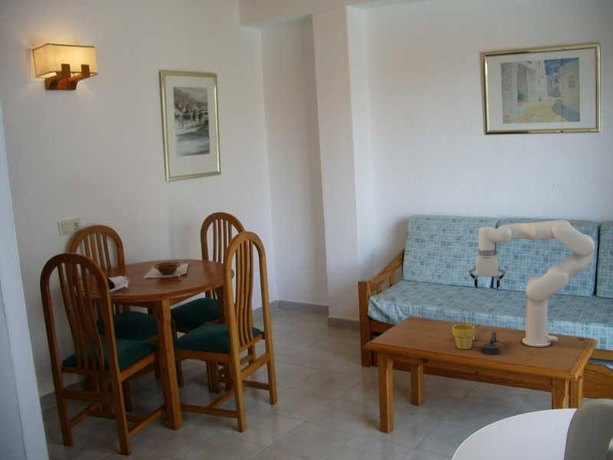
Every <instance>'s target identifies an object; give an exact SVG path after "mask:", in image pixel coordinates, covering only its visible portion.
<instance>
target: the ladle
mask: <svg viewBox="0 0 613 460" xmlns="http://www.w3.org/2000/svg"><path fill="white" fill-rule="evenodd" d="M496 341H497V332H495V331H492V332H491V336H490V339H489V343H483V345H482V353H483V354H486V355H492V356H493V355H494V356H495V355H498V354H499V353H500V346H499V344H497V343H495V342H496Z"/></svg>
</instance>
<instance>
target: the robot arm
mask: <svg viewBox="0 0 613 460" xmlns="http://www.w3.org/2000/svg"><path fill="white" fill-rule="evenodd" d="M511 240H530V241H533V242H538V241H549V240H557V241H558V242H560V243H561V244H563V245H564V246H565V247H566V248H568V249H570V250H571V251H572V252H571V253H570V254H569V255H568V256H566V257H565V258H564V259H562V260H561V261H559V262H557V263H555V264H554V265H551V266H550V267H549V268H548V269H547V271H546V273H545V274H544V275H542V276H534V277H531V278H530V279H528V281H527V282H526V286H525V296H526V297H525V337H523V338H522V343H523V344H524V345H525V346H530V347H536V348H537V347H538V348H543V347H548V346H550V345H551V342H558V336H555V335H550V334H549V332H548V310H549V309H548V307H549V306H548V305H549V304H548V303H549V301H548V300H549V298H550V297H552V296H554V295H556V294H557V293H559V292H560V291H561V290H563V289H564V288H566V286H567V285H568V283H569V280H570V279H571V278H573V277H574V276H576V275H577V274H579V273H580V272H581V271H584V270H585V268H587V267H588V266H589V264H590V263H591V261H592V259H593V257H594V254H595V253H594V252H595V249H596V244H595V241H594V239H593V237H592V236H590V235H589V234H585V233H581V232H580V231H579V230H577V229H576V228H575V227H573V226H572V224H571V223H570V221H568V220H565V219H557V220H548V221H547V220H546V221H545V220H544V221H537V222H521V223H520V222H519V223H510V224H503V225H500V226H499V227H498V228H495V227H493V226H481V227H479V229H478V254H477V256H476V262H475V267H472V268H470V269H469V270H467V271H468V274H469V276H470V277H471V278H472V279H473V280H474V281H473V283H474V285H473V286H474V287H475V289H478V288H479V285H478V284H479V277H481V278H483V277H485V278H495V279H496V289H497V290H499V288H500V287H501V281H502V279H503V278H504V277H505V275H506V273H507V271H506V270H505V269H503V268H501V267H499V260H498V256H497V254H499V250H496V244H503V245H505V244H507V243H509V242H510V241H511ZM473 272H475V274H474V273H473ZM499 272H500V273H501V274H500V275H498V274H499Z"/></svg>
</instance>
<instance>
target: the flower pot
mask: <svg viewBox="0 0 613 460" xmlns="http://www.w3.org/2000/svg"><path fill="white" fill-rule="evenodd" d="M452 335H453V336H454V340H455V344H456V345H455V346H456V348H457V349H460V350H470V349H472V347H473V342H474V341H473V336H474V337H475V335H476V326H474V325H472V324H469V325H468V323H467V324H466V323H464V324H463V323H461V324H455V325H453V326H452Z"/></svg>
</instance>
